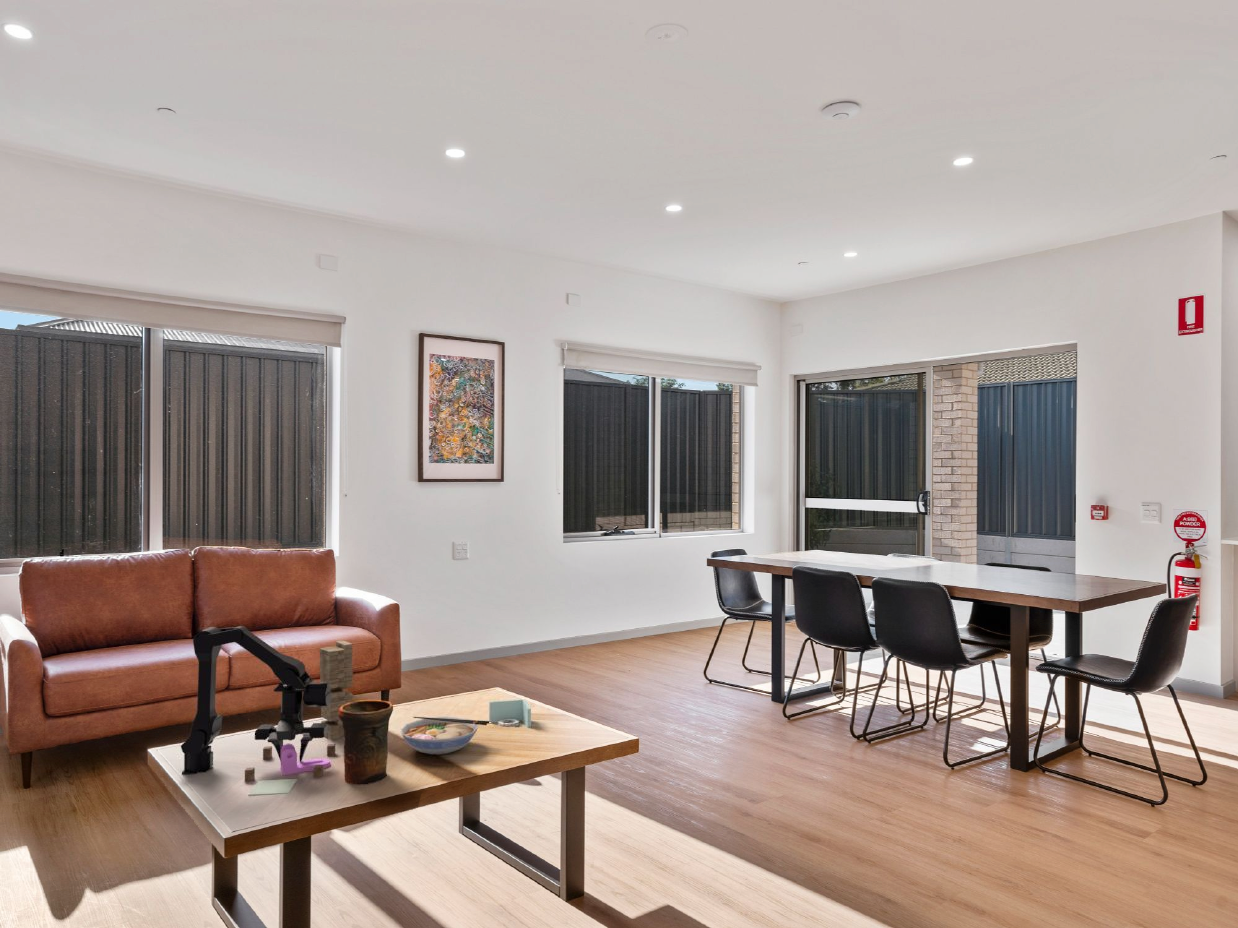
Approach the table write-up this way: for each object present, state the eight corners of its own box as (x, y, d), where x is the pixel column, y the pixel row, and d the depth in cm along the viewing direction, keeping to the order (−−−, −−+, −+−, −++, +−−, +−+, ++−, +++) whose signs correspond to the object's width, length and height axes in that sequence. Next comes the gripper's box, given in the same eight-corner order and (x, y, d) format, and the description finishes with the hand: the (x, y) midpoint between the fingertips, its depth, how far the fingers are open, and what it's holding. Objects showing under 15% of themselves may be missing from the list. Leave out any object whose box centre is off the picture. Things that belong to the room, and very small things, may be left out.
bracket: (282, 775, 239) (282, 749, 239) (280, 768, 244) (280, 744, 244) (331, 767, 244) (331, 743, 244) (328, 761, 249) (328, 737, 249)
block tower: (318, 735, 274) (318, 643, 274) (344, 729, 280) (344, 639, 280) (328, 741, 268) (328, 647, 268) (354, 735, 274) (354, 643, 274)
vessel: (372, 765, 246) (372, 695, 246) (403, 777, 237) (403, 704, 237) (327, 779, 235) (327, 706, 235) (357, 792, 226) (358, 716, 226)
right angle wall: (489, 723, 288) (489, 701, 288) (525, 721, 291) (525, 698, 291) (493, 734, 276) (493, 711, 276) (530, 731, 279) (530, 708, 279)
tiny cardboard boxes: (244, 781, 234) (244, 770, 234) (264, 756, 254) (264, 746, 254) (321, 777, 237) (321, 766, 237) (335, 753, 256) (335, 743, 256)
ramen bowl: (381, 760, 251) (381, 731, 251) (422, 736, 273) (422, 710, 273) (459, 769, 244) (459, 740, 244) (494, 744, 266) (494, 717, 266)
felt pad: (248, 795, 224) (248, 794, 224) (259, 781, 233) (259, 780, 233) (288, 793, 225) (288, 792, 225) (297, 780, 235) (297, 778, 235)
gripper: (249, 715, 236) (248, 772, 236) (320, 713, 239) (319, 770, 238) (260, 704, 247) (259, 758, 247) (328, 702, 250) (327, 756, 249)
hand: (291, 761), depth 245 cm, fingers closed on bracket, 5 cm apart
